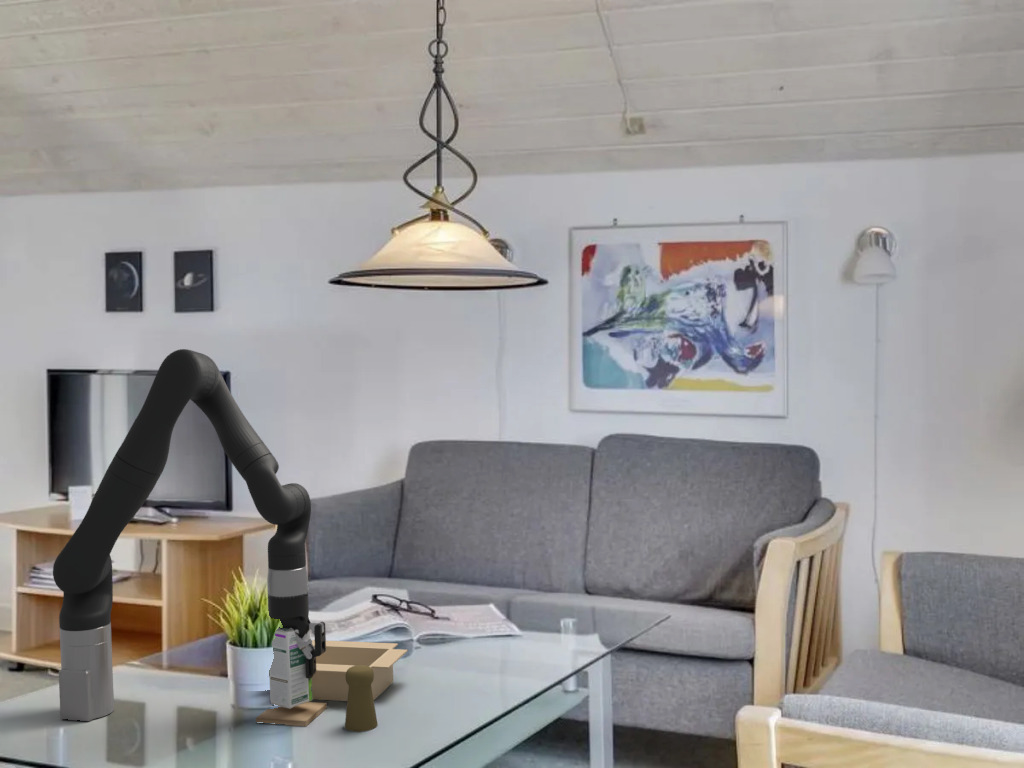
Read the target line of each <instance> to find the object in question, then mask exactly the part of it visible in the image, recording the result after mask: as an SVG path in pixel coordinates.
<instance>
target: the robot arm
mask: <svg viewBox="0 0 1024 768" xmlns="http://www.w3.org/2000/svg"><path fill="white" fill-rule="evenodd" d="M144 400H145V401H144V403H143V405H142V407H141V409H140V411H139V413H138V414H137V416H136V417H135V419H134V421H133V423H132V425H131V427H130V428H129V430H128V433H127V434H126V435H125V437H124V439H123V441H122V442H121V445H120V446H119V447H118V449H117V451H116V453H115V455H114V457H113V458H112V460H111V462H110V464H109V465H108V466H107V469H106V471H105V473H104V474H103V477H102V479H101V481H100V483H99V485H98V487H97V490H96V491H95V494H94V496H93V497H92V500H91V502H90V503H89V506H88V509H87V511H86V514H85V515H84V517H83V518H82V520H81V522H80V524H79V526H78V527H77V529H76V530H75V531H74V532H73V534H72V536H71V537H70V539H69V540H68V542H67V543H66V544H65V546H63V548H62V550H61V551H60V553H58V555H57V557H55V560H54V562H53V566H52V577H53V581H54V583H55V585H56V586H57V588H58V589H59V590H60V591H61V592H63V595H62V596H63V599H62V605H61V609H60V612H59V617H58V619H59V620H58V621H59V642H60V643H59V646H60V647H59V648H60V649H59V650H60V669H59V671H58V683H59V684H58V685H59V686H58V688H59V689H58V690H59V710H60V714H59V715H60V720H62V719H68V720H67V721H77V720H80V721H79V722H90V721H92V720H95V719H99V718H102V717H105V716H107V715H109V714H111V713H113V712H114V711H115V703H114V702H115V700H114V699H115V697H114V696H115V695H114V673H113V672H114V671H113V651H112V650H113V646H112V644H113V643H112V622H111V621H112V620H111V617H112V616H111V615H112V614H111V613H112V609H113V599H114V598H113V597H114V595H113V594H114V592H113V591H114V590H113V586H114V585H113V562H112V557H111V553H112V550H113V548H114V546H115V545H116V542H117V540H118V539H119V537H120V535H121V534H122V532H123V531H124V530H125V528H126V527H127V525H129V523H130V522H131V521H132V520H133V518H134V516H136V514H138V512H139V510H140V509H141V508H142V506H143V505H144V504H145V502H146V501H147V499H148V498H149V496H150V495H151V493H152V492H153V490H154V488H155V487H156V484H157V483H158V481H159V479H160V477H161V475H162V473H163V472H164V469H165V467H166V464H167V462H168V457H169V452H170V447H171V440H172V435H173V432H174V428H175V426H176V424H177V421H178V419H179V417H180V416H181V414H182V413H183V412H184V409H185V407H186V406H187V404H188V403H189V401H190V400H191V401H192V403H194V404H195V405H196V406H197V407H198V408H199V409H200V410H201V411H202V412H203V413H204V415H205V416H206V418H208V419H209V420H208V421H210V423H211V424H212V426H213V428H214V430H215V432H216V435H217V437H218V439H219V443H220V444H221V447H222V449H223V451H224V453H225V454H226V457H227V458H228V459H229V461H230V463H231V464H232V466H233V467H234V468H235V469H236V471H237V472H238V474H239V475H240V476H241V478H242V479H243V480H244V481H245V484H246V485H247V489H248V492H249V494H250V496H251V499H252V501H253V504H254V507H255V509H256V510H257V512H258V513H259V515H260V516H261V518H263V519H264V520H265V521H266V522H268V523H269V524H272V525H274V526H276V532H275V533H274V534H273V536H271V538H270V539H269V541H268V543H267V567H268V568H267V570H268V571H267V578H266V579H267V581H266V582H267V583H266V585H267V612H268V611H269V615H268V617H269V616H270V617H271V618H274V619H280V621H281V623H282V625H283V628H289V629H288V630H293V631H295V630H296V629H297V630H298V631H299V634H298V633H297V632H295V635H296V639H297V646H298V647H299V649H300V650H302V651H303V653H304V654H305V656H306V657H307V659H305V664H306V678H311V677H313V675H314V674H315V673H316V657H317V656H320V655H321V654H323V653H324V652H325V651H326V641H327V639H326V638H327V636H326V635H327V634H326V633H327V632H326V622H324V621H320V622H311V621H310V618H309V613H310V607H309V589H310V588H309V579H308V578H309V577H308V571H307V570H308V569H307V557H306V556H307V555H306V554H307V553H306V552H307V551H306V550H307V549H306V540H307V536H308V533H309V526H310V521H311V514H312V502H311V497H310V494H309V492H308V491H307V489H306V488H305V487H304V486H303V485H301V484H299V483H295V482H294V483H292V482H291V483H285V484H283V485H282V484H281V483H280V481H279V479H278V476H277V475H276V474H277V473H278V471H279V469H280V468H279V467H280V466H279V463H278V461H277V459H276V457H275V456H274V455H273V453H272V452H271V451H270V449H269V448H268V447H267V445H266V444H265V442H264V441H263V439H262V438H261V437H260V436H259V435H258V433H257V432H256V430H255V429H254V427H253V426H252V425H251V423H250V422H249V420H248V419H247V417H246V416H245V415H244V413H243V411H242V410H241V408H240V407H239V405H238V404H237V402H236V400H235V399H234V396H233V394H232V393H231V391H230V389H229V387H228V385H227V384H226V381H225V379H224V377H223V375H222V372H221V371H220V369H219V367H218V365H217V363H216V362H215V361H214V360H213V359H212V358H211V357H210V356H208V355H206V354H204V353H201V352H198V351H194V350H192V349H186V348H185V349H184V348H182V349H177V350H174V351H172V352H171V353H169V354H168V355H167V356H166V357H165V358H164V359H163V360H162V362H161V364H160V365H159V368H158V370H157V372H156V374H155V377H154V379H153V382H152V385H151V387H150V388H149V392H148V394H147V396H146V399H144ZM278 629H282V628H280V627H279V628H278ZM309 630H310V631H311V634H312V635H314V640H315V647H314V646H313V644H312V641H313V639H312V638H310V640H308V641H306V642H304V641H303V640H302V638H303V637H304V635H305V634H307V633H308V631H309Z"/></svg>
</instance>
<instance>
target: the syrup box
mask: <svg viewBox="0 0 1024 768" xmlns="http://www.w3.org/2000/svg"><path fill="white" fill-rule="evenodd" d="M288 629H289V628H282V629H277V630H276V633H275V636H276V638H275V639H274V640H273V641H272V647H273V652H274V653H273V654H274V659H273V662H272V665H271V668H270V670H269V676H268V677H269V698H270V699H269V700H270V703H271V704H272V705H273V704H275V705H278V706H281V707H285V708H289V709H291V708H293V707H295V706H298V705H300V704H303V703H306V702H313V699H312V677H311V678H306V664H305V659H307V657H306V656H305V654H304V653H303V651H302V650H300V649H299V647H298V646H297V639H296V635H295V632H297V633H298V634H299V631H298V630H297V629H296V630H295V631H293V630H288ZM310 639H311V629H310V630H309V631H308V633H307V634H305V635H304V637H303V638H302V640H303V641H304V642H306V641H308V640H310Z"/></svg>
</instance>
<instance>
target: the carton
mask: <svg viewBox="0 0 1024 768" xmlns="http://www.w3.org/2000/svg"><path fill="white" fill-rule="evenodd" d="M312 644H313V646H314V647H315V639H312ZM397 646H399V643H392V642H391V643H390V642H371V641H370V642H369V641H367V642H366V641H345V640H326V651H325V652H324V653H323V654H321V655H320V656H317V657H316V673H315V674H314V675H313V677H312V700H320V701H321V700H323V701H338V702H339V701H340V702H341V701H342V702H347V699H348V689H349V685H348V684H347V682H346V677H345V676H346V672H347V670H348V669H349V668H350V667H352V666H357V665H366V666H369V667H371V668H372V670H373V672H374V679H373V682H372V683H371V687H372V693H373V699H374V701H375V700H376V699H377V698H378V697H379V696H380V695H382V694H383V692H385V690H387V689H388V687H390V686H391V685H392V684H393V683H394V664H396V663H397V662H398V661H399V660H400V659H401V658H402V657H403V656H404V655H405V654H407V653H408V652H409V650H408V649H400V648H397V649H396V647H397Z"/></svg>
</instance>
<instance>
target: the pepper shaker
mask: <svg viewBox="0 0 1024 768" xmlns="http://www.w3.org/2000/svg"><path fill="white" fill-rule="evenodd" d="M345 677H346V682H347V684H348V685H349V689H348V699H347V701H346V710H345V721H344V729H345V730H347V731H349V732H361V733H362V732H367V731H371V730H374V729H375V728H377V726H378V719H377V714H376V707H375V700H374V699H373V693H372V687H371V683H372V682H373V679H374V672H373V670H372V668H371V667H369V666H366V665H357V666H352V667H350V668H349V669H348V670H347V672H346V676H345Z"/></svg>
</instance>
